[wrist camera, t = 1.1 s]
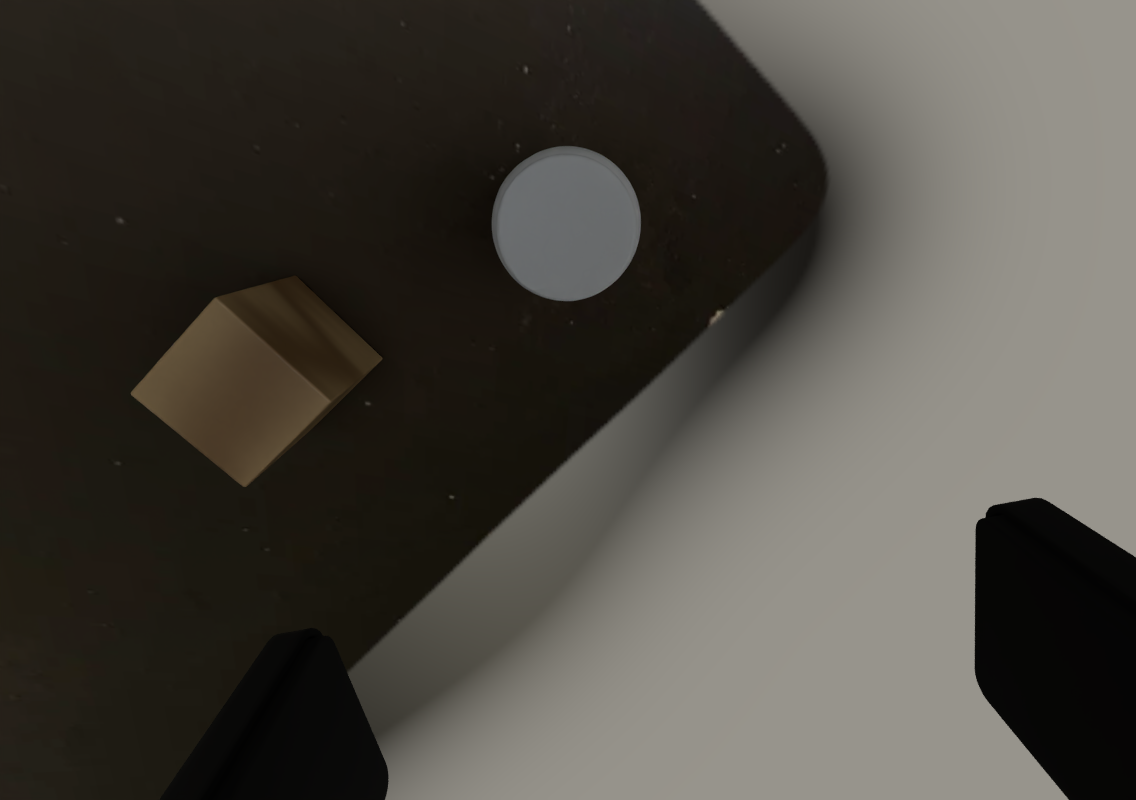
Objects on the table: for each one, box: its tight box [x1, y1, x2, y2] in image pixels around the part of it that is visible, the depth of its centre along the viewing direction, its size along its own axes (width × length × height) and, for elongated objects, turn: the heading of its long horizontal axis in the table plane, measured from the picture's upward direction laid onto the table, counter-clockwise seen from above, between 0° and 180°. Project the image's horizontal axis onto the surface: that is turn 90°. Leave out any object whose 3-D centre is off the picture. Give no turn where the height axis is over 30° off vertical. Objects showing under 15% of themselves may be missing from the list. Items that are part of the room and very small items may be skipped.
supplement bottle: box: [492, 146, 641, 301], centre depth 20 cm, size 5×5×8 cm
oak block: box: [131, 276, 382, 487], centre depth 23 cm, size 5×5×6 cm
